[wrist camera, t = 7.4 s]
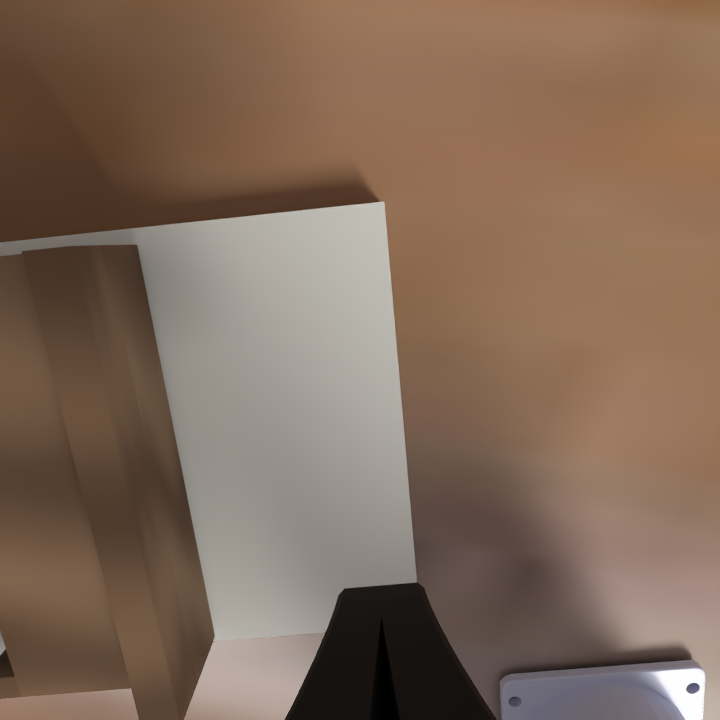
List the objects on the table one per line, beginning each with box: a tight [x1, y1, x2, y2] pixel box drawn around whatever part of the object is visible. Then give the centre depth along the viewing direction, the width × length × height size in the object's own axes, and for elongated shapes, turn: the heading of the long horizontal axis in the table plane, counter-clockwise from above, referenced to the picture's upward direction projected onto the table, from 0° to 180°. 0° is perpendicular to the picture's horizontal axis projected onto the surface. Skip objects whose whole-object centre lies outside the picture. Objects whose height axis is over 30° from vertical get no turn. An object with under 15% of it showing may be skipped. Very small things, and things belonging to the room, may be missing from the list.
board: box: [0, 202, 417, 655], centre depth 16 cm, size 15×18×5 cm
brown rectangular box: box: [0, 245, 215, 720], centre depth 15 cm, size 14×9×4 cm, turn 6°
